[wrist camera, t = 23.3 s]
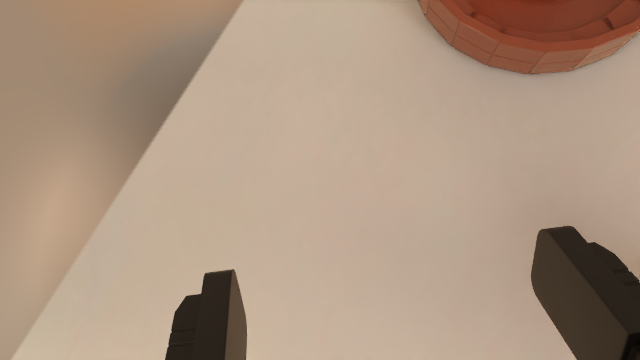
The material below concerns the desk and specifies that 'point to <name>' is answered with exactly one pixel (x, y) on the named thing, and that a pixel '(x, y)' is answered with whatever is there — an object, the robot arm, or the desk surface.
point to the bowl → (535, 30)
